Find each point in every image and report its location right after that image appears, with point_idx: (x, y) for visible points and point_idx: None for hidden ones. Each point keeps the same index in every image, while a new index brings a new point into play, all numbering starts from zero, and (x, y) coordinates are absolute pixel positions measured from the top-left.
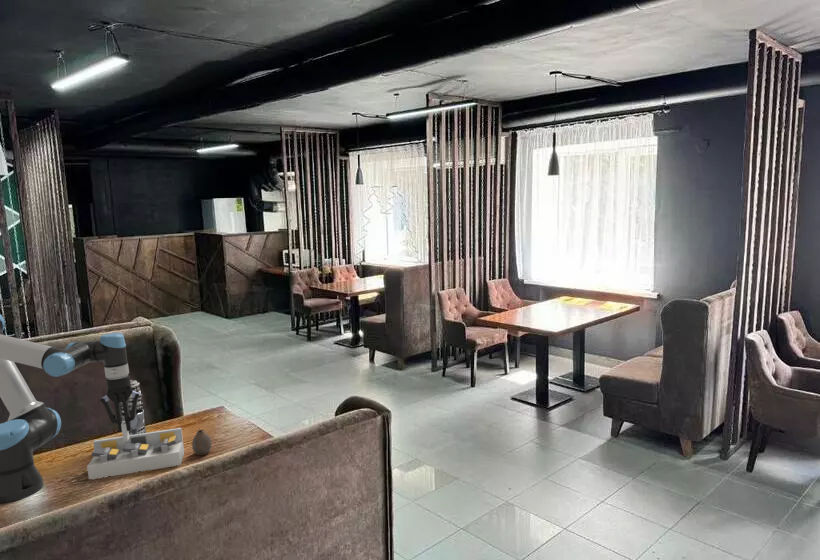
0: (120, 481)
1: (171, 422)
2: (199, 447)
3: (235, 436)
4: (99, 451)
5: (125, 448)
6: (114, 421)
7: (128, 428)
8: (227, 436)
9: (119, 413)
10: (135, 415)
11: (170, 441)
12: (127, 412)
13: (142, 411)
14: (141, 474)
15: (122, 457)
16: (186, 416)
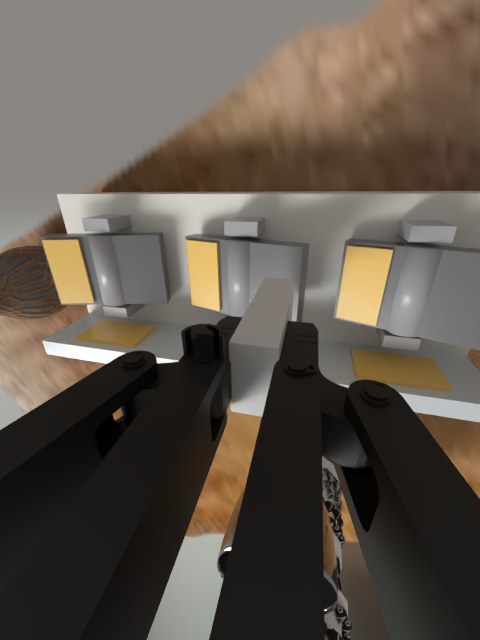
0: (321, 101)
1: (221, 524)
2: (25, 248)
3: (19, 350)
4: (461, 285)
5: (287, 246)
6: (358, 393)
7: (231, 327)
8: (40, 362)
9: (251, 479)
10: (120, 424)
11: (62, 240)
12: (115, 445)
13: (218, 559)
14: (234, 155)
15: (315, 247)
16: (191, 533)
